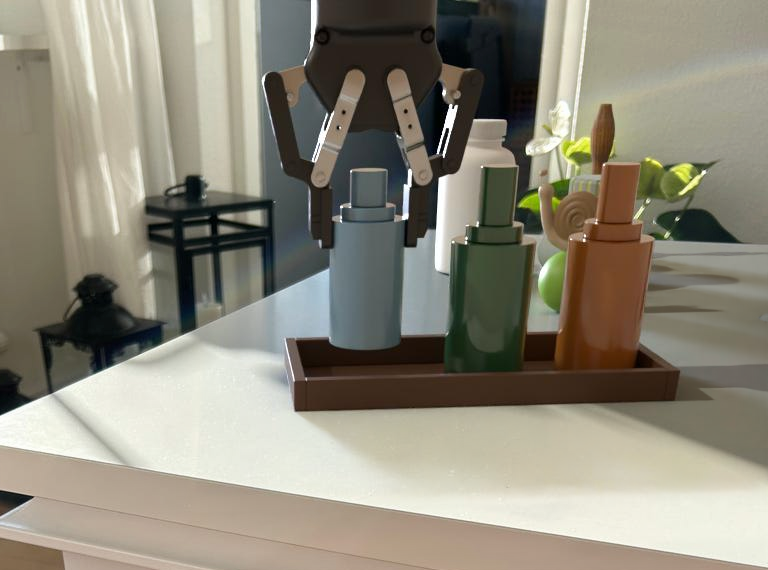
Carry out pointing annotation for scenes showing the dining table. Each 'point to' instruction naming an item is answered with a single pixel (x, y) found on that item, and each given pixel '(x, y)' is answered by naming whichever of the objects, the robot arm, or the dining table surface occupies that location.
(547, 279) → the snail figurine
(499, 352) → the green bottle
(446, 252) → the pill bottle
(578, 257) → the amber bottle
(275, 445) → the dining table surface
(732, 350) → the dining table surface
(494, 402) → the tray
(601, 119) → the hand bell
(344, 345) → the blue bottle
